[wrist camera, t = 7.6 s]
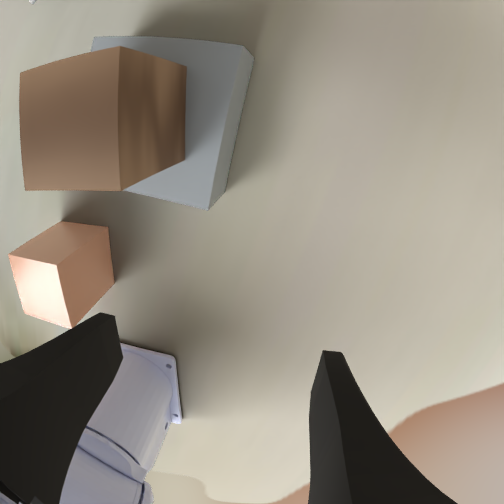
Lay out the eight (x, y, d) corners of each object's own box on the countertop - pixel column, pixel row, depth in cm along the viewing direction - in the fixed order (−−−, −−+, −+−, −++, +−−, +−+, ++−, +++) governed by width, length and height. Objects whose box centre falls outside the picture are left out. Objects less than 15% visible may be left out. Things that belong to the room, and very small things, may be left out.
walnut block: (185, 160, 15) (120, 191, 9) (105, 160, 15) (25, 190, 10) (186, 66, 13) (120, 45, 7) (104, 76, 13) (20, 73, 8)
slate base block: (225, 190, 19) (207, 210, 16) (110, 165, 19) (74, 179, 16) (255, 59, 16) (243, 45, 12) (129, 46, 16) (93, 36, 12)
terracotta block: (114, 282, 23) (72, 329, 18) (69, 273, 23) (24, 313, 18) (108, 226, 21) (56, 265, 16) (61, 221, 21) (8, 254, 16)
